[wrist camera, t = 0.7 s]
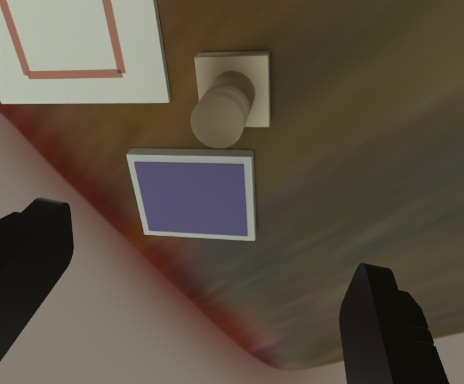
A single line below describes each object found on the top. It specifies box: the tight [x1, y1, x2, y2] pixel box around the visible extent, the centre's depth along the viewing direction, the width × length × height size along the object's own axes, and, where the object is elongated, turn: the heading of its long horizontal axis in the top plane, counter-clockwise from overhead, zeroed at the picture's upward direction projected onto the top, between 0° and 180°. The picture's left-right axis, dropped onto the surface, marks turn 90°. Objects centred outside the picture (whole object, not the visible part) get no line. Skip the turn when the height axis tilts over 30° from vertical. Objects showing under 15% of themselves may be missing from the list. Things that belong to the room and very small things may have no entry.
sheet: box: [0, 0, 172, 104], centre depth 27 cm, size 14×12×1 cm
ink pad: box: [126, 148, 257, 241], centre depth 32 cm, size 10×8×1 cm
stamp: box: [190, 50, 271, 148], centre depth 25 cm, size 5×5×7 cm
